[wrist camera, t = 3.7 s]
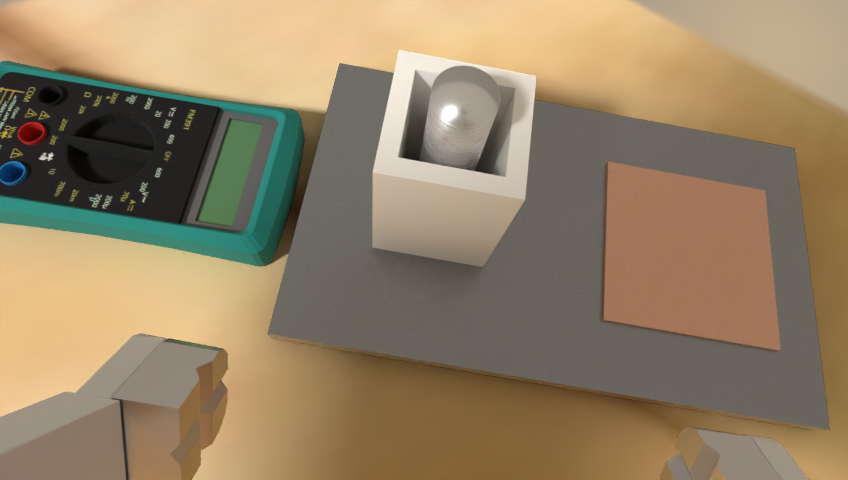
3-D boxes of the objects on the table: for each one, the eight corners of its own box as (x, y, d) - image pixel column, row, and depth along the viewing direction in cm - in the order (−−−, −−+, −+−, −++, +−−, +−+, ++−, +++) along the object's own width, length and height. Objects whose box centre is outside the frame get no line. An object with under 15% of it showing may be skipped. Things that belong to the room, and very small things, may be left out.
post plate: (271, 338, 23) (207, 270, 14) (340, 75, 28) (326, -96, 19) (811, 430, 23) (1079, 422, 14) (780, 157, 28) (964, 29, 20)
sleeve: (372, 247, 23) (372, 172, 17) (392, 151, 25) (398, 49, 19) (482, 267, 24) (525, 199, 17) (494, 169, 25) (536, 75, 19)
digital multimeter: (16, 87, 26) (-26, 45, 24) (311, 137, 27) (304, 102, 24) (-53, 220, 24) (-109, 191, 21) (276, 273, 24) (264, 251, 21)
